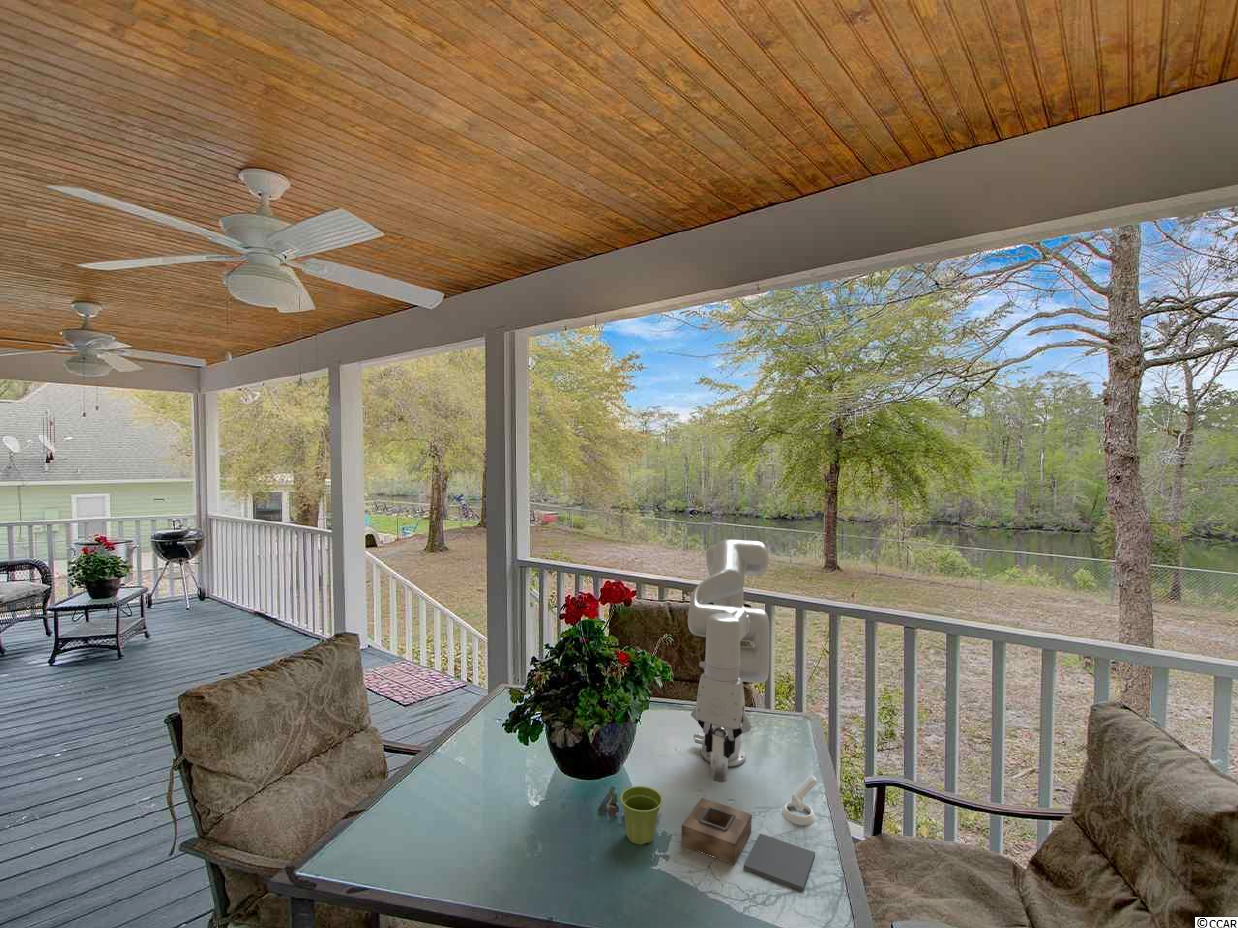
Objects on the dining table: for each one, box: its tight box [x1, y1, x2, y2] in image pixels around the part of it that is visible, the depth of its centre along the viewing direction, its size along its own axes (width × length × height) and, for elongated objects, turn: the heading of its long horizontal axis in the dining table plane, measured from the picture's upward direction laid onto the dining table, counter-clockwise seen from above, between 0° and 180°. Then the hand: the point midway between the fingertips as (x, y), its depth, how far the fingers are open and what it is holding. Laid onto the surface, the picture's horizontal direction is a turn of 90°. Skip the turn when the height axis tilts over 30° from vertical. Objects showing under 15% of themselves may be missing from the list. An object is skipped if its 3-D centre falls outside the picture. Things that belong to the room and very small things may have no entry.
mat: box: [743, 833, 816, 892], centre depth 124 cm, size 12×12×1 cm
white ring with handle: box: [781, 774, 818, 826], centre depth 140 cm, size 8×12×7 cm
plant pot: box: [620, 785, 663, 846], centre depth 131 cm, size 9×9×9 cm
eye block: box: [680, 797, 753, 866], centre depth 131 cm, size 12×12×5 cm
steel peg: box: [709, 726, 729, 783], centre depth 131 cm, size 4×4×11 cm
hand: (719, 751), depth 131 cm, fingers closed on steel peg, 3 cm apart
